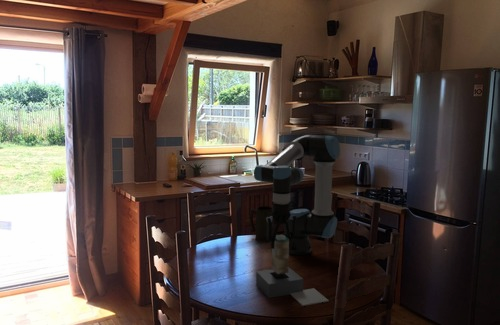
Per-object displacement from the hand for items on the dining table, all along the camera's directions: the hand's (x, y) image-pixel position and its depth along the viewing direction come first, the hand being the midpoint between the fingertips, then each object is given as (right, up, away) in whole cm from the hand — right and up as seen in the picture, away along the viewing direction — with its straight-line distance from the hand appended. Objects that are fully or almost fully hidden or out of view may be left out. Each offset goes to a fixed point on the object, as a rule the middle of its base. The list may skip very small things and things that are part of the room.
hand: (280, 254), depth 178 cm
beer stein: (-7, -7, +69) cm, 69 cm away
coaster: (+11, -17, -6) cm, 21 cm away
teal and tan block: (0, -7, +1) cm, 7 cm away
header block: (0, -15, +2) cm, 15 cm away
